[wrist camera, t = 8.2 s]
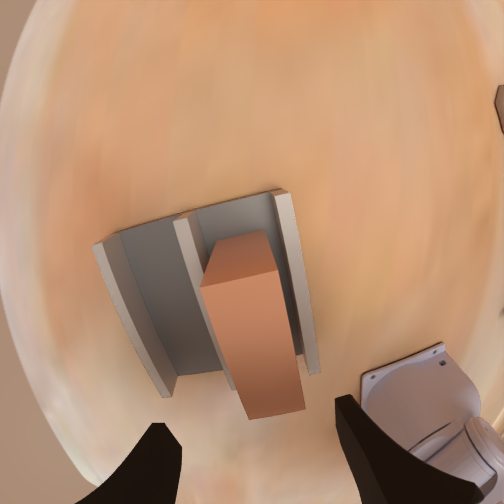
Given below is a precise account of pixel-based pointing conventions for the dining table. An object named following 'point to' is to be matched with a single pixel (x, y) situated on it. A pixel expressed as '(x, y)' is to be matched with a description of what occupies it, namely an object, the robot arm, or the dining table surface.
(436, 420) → the robot arm
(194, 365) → the dish rack
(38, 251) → the dining table surface
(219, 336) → the terracotta tile
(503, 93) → the flask
